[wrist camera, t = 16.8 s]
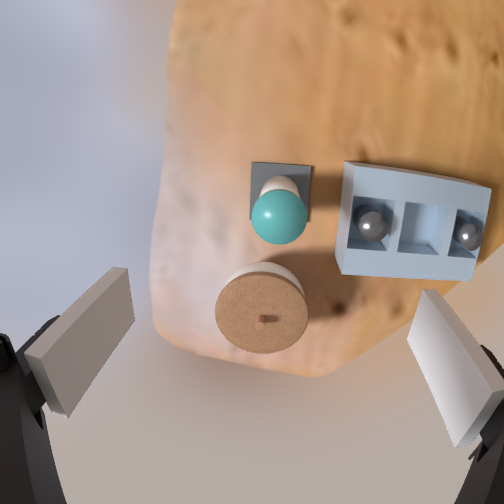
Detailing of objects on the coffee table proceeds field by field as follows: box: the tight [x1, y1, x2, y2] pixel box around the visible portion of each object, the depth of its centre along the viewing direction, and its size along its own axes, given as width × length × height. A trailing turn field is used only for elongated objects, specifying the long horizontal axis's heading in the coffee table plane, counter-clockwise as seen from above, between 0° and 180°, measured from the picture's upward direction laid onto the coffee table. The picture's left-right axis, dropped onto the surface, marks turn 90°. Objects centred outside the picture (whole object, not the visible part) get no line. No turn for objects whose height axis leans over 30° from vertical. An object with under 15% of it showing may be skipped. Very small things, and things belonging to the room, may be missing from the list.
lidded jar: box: [215, 262, 309, 354], centre depth 39 cm, size 11×11×9 cm
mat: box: [250, 162, 311, 219], centre depth 38 cm, size 7×7×1 cm
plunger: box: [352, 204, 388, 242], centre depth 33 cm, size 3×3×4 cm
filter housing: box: [334, 161, 492, 281], centre depth 35 cm, size 12×18×6 cm, turn 88°
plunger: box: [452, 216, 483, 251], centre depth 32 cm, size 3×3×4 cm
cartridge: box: [252, 175, 307, 244], centre depth 33 cm, size 5×5×11 cm
